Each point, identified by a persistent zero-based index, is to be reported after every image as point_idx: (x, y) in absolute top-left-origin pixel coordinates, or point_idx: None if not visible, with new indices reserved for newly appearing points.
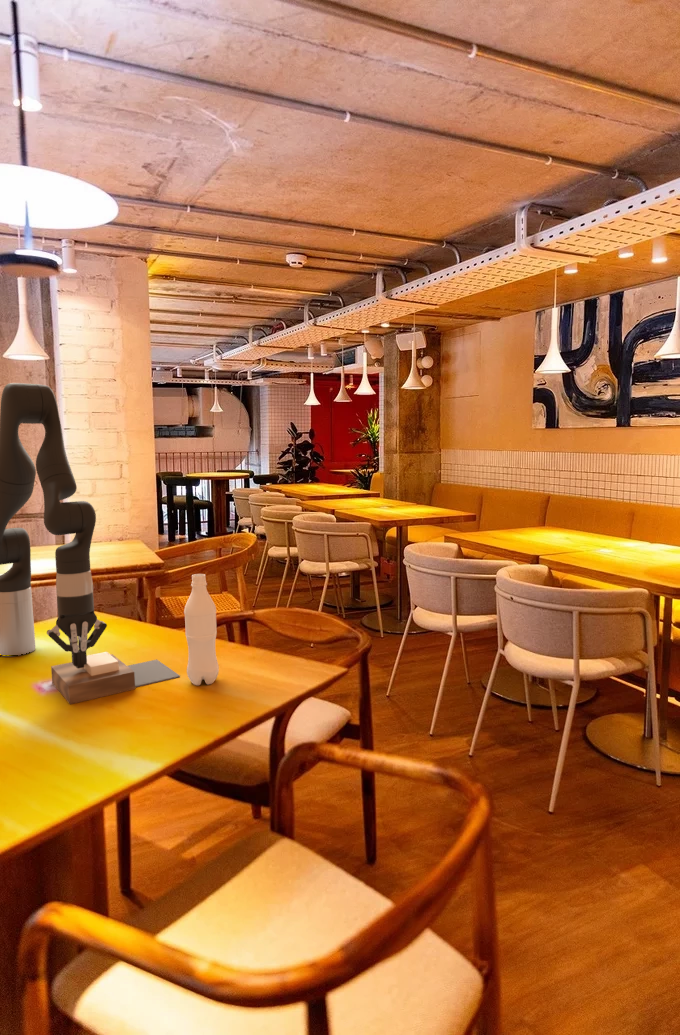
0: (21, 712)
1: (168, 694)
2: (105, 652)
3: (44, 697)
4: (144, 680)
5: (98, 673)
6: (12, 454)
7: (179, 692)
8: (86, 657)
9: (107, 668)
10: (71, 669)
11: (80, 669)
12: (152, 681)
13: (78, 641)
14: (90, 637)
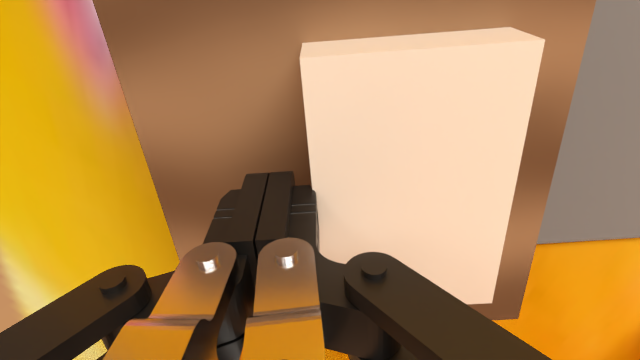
0: (46, 257)
1: (544, 348)
2: (523, 63)
3: (114, 150)
4: (562, 208)
5: None
6: None
7: (581, 350)
8: (319, 249)
9: None
10: (229, 106)
11: (285, 140)
12: (580, 236)
13: (255, 306)
14: (396, 331)
